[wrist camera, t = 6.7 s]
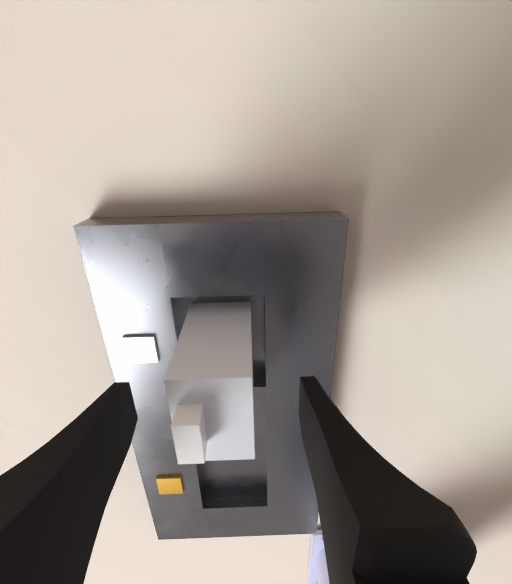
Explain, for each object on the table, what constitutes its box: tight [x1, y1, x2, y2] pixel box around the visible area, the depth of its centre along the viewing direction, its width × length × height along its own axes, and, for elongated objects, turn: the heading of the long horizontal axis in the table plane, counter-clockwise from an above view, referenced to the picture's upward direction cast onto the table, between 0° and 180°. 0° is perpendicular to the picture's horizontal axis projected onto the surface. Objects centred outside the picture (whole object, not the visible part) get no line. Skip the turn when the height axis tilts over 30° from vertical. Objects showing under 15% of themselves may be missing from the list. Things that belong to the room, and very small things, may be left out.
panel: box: [73, 212, 348, 540], centre depth 20 cm, size 12×24×2 cm, turn 1°
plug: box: [164, 302, 255, 464], centre depth 15 cm, size 3×4×7 cm
